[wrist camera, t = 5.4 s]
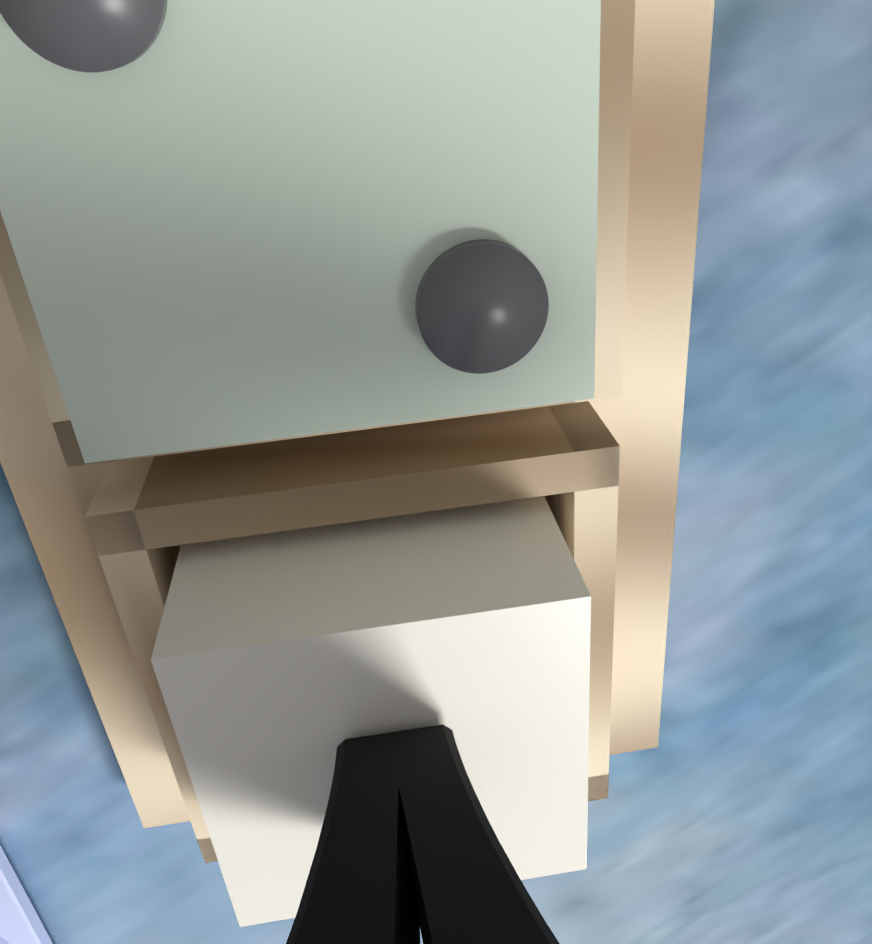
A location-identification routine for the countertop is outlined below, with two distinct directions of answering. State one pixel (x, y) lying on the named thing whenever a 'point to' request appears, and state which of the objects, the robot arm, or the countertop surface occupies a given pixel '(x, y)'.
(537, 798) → the tile one
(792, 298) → the countertop surface
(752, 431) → the countertop surface
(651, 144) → the tile board
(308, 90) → the tile two
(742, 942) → the countertop surface
